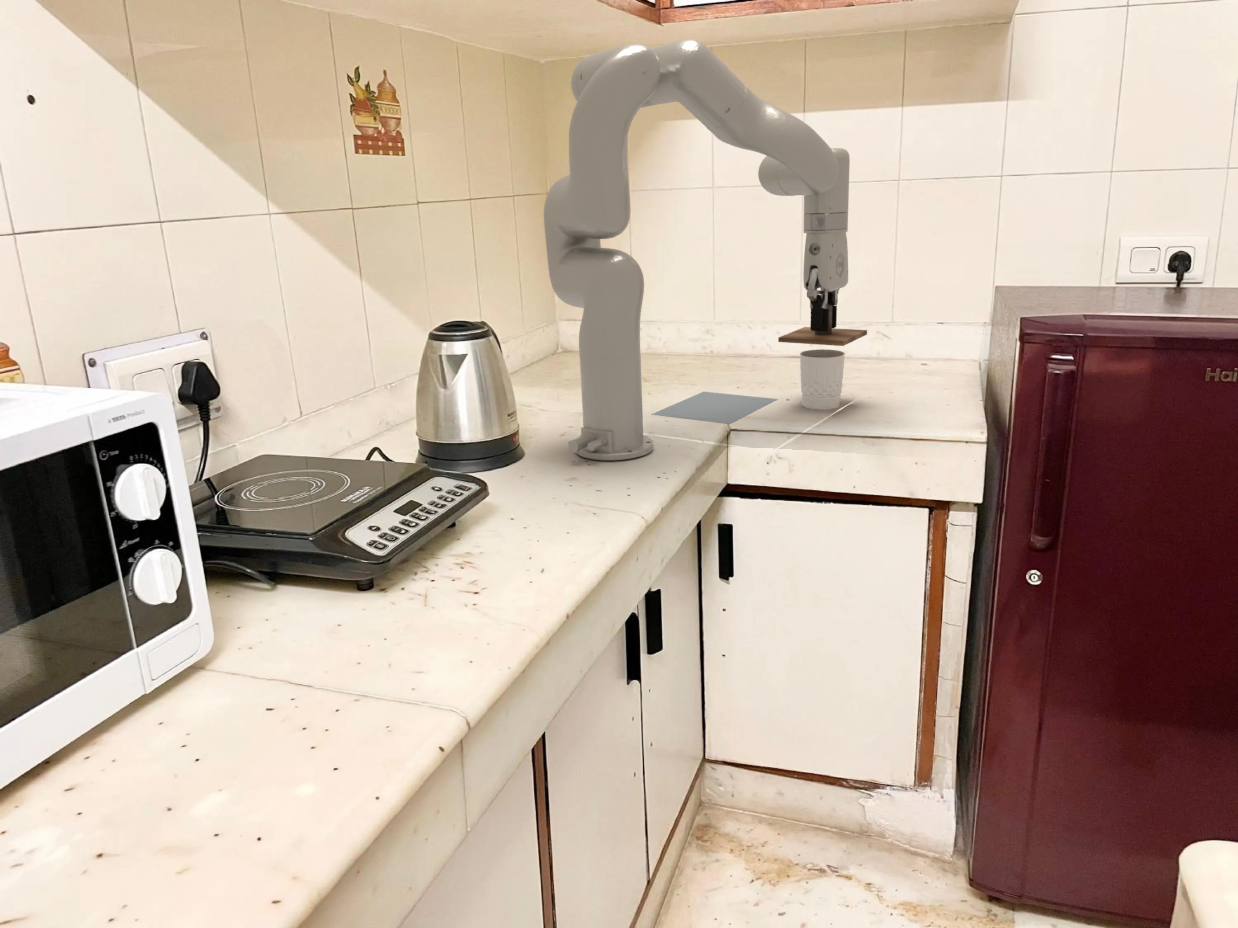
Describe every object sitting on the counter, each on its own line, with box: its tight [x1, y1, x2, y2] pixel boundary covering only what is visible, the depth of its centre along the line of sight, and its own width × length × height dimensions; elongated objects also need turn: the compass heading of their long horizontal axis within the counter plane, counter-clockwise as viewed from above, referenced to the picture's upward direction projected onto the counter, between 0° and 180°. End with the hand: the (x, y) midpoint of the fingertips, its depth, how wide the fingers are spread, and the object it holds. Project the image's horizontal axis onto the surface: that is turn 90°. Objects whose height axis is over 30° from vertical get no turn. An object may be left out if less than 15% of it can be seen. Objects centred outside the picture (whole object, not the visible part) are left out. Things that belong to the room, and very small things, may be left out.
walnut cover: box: [777, 305, 868, 347], centre depth 164 cm, size 12×12×6 cm
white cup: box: [799, 349, 846, 411], centre depth 167 cm, size 8×8×10 cm
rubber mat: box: [651, 391, 779, 425], centre depth 171 cm, size 20×16×1 cm
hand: (823, 328), depth 164 cm, fingers closed on walnut cover, 3 cm apart
